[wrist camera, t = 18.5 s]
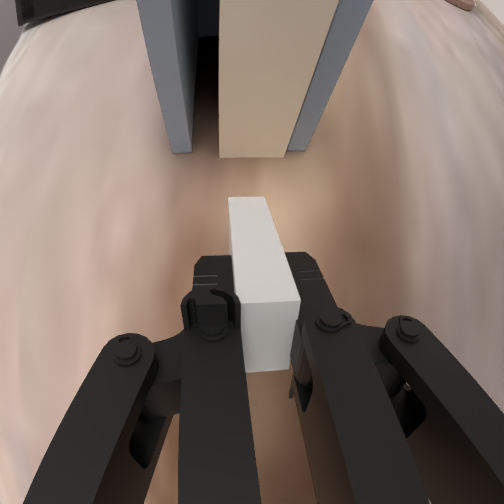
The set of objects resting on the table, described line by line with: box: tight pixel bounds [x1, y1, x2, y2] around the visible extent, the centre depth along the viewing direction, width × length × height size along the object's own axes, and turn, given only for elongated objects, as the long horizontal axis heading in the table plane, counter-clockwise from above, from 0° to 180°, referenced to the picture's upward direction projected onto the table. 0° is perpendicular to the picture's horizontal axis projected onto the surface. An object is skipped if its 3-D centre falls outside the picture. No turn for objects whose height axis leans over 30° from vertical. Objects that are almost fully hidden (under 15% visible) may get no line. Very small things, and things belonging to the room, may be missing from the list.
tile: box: [219, 0, 339, 158], centre depth 14 cm, size 13×4×12 cm, turn 4°
